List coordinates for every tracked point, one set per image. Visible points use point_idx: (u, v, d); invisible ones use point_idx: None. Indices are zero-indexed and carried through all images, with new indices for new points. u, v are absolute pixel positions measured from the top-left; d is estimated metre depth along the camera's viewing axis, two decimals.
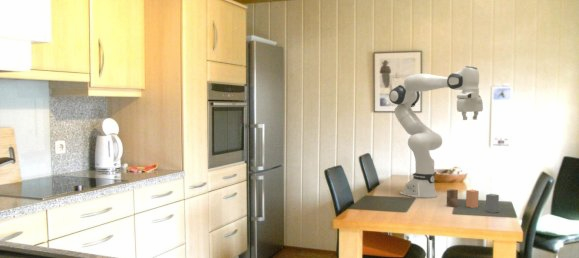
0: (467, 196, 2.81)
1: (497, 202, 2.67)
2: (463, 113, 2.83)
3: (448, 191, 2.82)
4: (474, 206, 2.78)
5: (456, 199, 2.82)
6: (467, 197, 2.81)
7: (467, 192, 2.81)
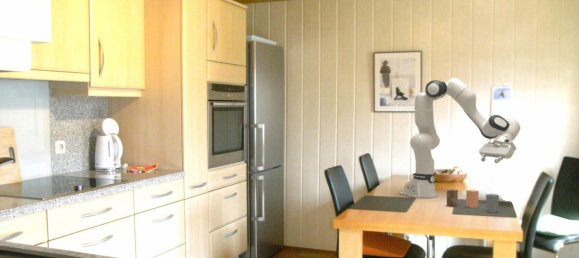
0: (467, 196, 2.81)
1: (497, 202, 2.67)
2: (501, 158, 2.80)
3: (448, 191, 2.82)
4: (474, 206, 2.78)
5: (456, 199, 2.82)
6: (467, 197, 2.81)
7: (467, 192, 2.81)
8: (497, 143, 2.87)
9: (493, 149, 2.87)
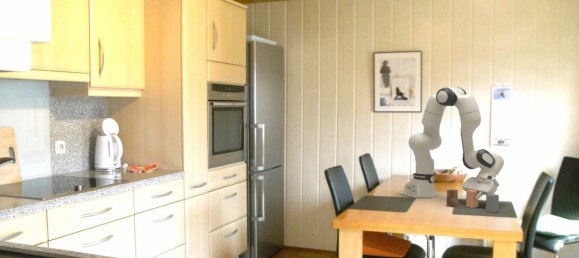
0: (467, 196, 2.81)
1: (497, 202, 2.67)
2: (481, 194, 2.77)
3: (448, 191, 2.82)
4: (474, 206, 2.78)
5: (456, 199, 2.82)
6: (467, 197, 2.81)
7: (467, 192, 2.81)
8: (480, 179, 2.82)
9: (476, 185, 2.82)
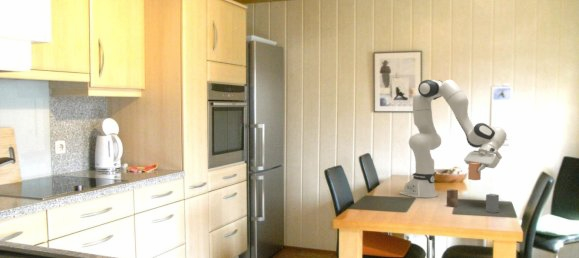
0: (469, 169, 2.80)
1: (497, 202, 2.67)
2: (484, 166, 2.77)
3: (448, 191, 2.82)
4: (476, 178, 2.78)
5: (456, 199, 2.82)
6: (469, 170, 2.80)
7: (469, 165, 2.80)
8: (482, 152, 2.81)
9: (478, 158, 2.82)
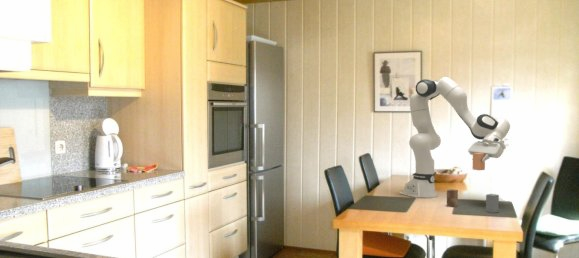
0: (474, 159, 2.81)
1: (497, 202, 2.67)
2: (488, 156, 2.78)
3: (448, 191, 2.82)
4: (481, 169, 2.79)
5: (456, 199, 2.82)
6: (474, 160, 2.81)
7: (474, 155, 2.81)
8: (486, 142, 2.82)
9: (482, 148, 2.83)
